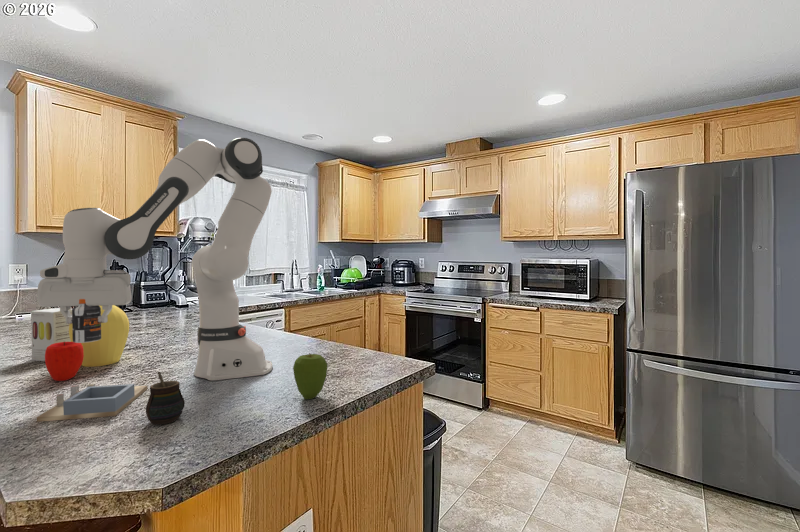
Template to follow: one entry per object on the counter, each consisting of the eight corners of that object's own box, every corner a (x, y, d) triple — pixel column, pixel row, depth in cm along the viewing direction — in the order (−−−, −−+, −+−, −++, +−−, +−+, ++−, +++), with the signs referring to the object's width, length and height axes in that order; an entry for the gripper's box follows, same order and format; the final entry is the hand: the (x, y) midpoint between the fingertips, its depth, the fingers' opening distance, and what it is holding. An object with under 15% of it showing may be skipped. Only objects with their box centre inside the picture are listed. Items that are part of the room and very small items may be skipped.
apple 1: (91, 376, 118) (91, 339, 118) (58, 385, 110) (57, 346, 110) (71, 373, 121) (70, 337, 121) (37, 381, 113) (36, 343, 113)
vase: (106, 369, 125) (105, 280, 124) (55, 369, 125) (53, 280, 124) (140, 356, 141) (139, 277, 140) (95, 356, 141) (94, 277, 140)
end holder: (134, 395, 99) (134, 383, 99) (115, 411, 89) (115, 398, 89) (88, 399, 97) (87, 386, 97) (63, 415, 87) (63, 401, 87)
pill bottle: (85, 343, 101) (83, 299, 101) (66, 342, 102) (65, 298, 102) (107, 338, 107) (106, 296, 107) (89, 338, 108) (88, 296, 108)
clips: (96, 393, 101) (96, 383, 101) (78, 405, 93) (78, 394, 93) (73, 395, 99) (73, 385, 99) (52, 407, 91) (52, 396, 91)
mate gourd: (156, 430, 82) (155, 382, 82) (138, 422, 86) (137, 376, 86) (191, 418, 88) (190, 373, 88) (172, 411, 92) (171, 368, 92)
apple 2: (315, 406, 95) (315, 358, 95) (285, 401, 98) (285, 355, 98) (333, 394, 103) (333, 350, 103) (305, 390, 106) (305, 347, 106)
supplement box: (30, 360, 135) (29, 311, 135) (58, 353, 144) (57, 307, 144) (54, 361, 134) (53, 311, 133) (80, 355, 143) (79, 308, 142)
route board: (147, 389, 107) (147, 385, 107) (115, 415, 89) (115, 410, 89) (82, 393, 104) (82, 389, 104) (36, 421, 86) (36, 416, 86)
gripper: (135, 269, 109) (136, 319, 110) (48, 270, 105) (50, 322, 106) (124, 270, 103) (125, 323, 104) (32, 271, 99) (33, 326, 99)
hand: (86, 323), depth 104 cm, fingers closed on pill bottle, 6 cm apart
